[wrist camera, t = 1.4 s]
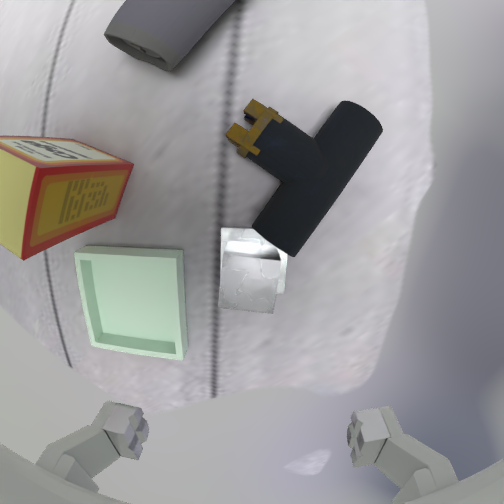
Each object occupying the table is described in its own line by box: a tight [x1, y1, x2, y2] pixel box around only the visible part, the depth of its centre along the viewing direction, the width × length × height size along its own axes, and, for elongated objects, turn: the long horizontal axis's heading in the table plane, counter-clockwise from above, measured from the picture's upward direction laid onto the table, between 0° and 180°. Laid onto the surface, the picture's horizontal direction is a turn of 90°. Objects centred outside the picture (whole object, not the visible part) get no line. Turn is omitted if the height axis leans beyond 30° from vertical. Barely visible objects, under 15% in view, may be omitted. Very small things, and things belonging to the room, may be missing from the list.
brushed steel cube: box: [218, 240, 281, 314], centre depth 28 cm, size 5×5×6 cm
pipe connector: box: [226, 99, 383, 257], centre depth 25 cm, size 12×5×15 cm
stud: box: [220, 227, 288, 294], centre depth 29 cm, size 7×7×4 cm
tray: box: [74, 246, 188, 360], centre depth 31 cm, size 13×13×3 cm
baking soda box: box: [0, 136, 134, 261], centre depth 21 cm, size 10×6×16 cm
